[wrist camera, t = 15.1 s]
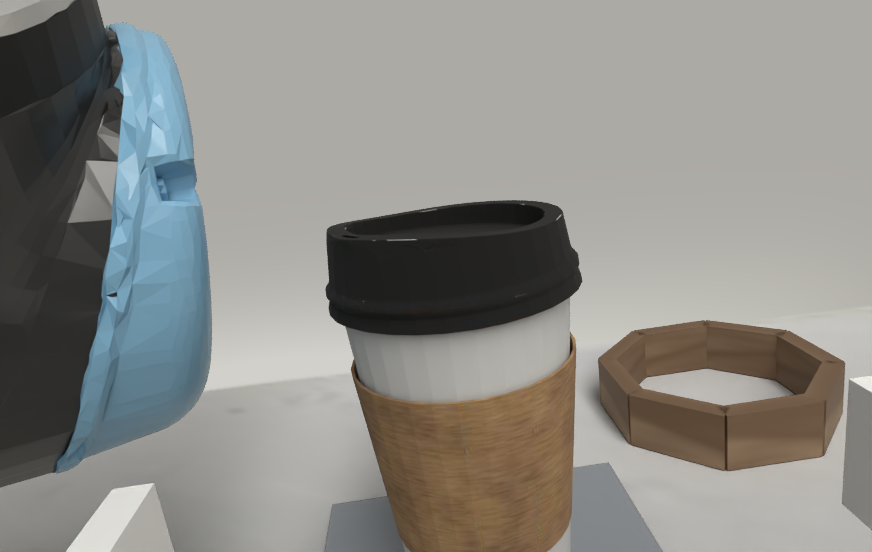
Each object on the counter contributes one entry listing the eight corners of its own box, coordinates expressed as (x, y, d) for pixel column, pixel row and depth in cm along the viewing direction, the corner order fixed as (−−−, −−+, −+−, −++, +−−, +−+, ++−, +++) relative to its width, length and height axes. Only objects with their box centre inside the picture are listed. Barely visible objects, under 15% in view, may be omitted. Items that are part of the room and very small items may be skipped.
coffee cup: (344, 596, 24) (266, 231, 20) (492, 493, 30) (453, 184, 26) (495, 743, 18) (426, 256, 14) (650, 580, 23) (632, 187, 19)
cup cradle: (656, 481, 30) (654, 427, 29) (583, 379, 42) (581, 338, 41) (892, 445, 30) (896, 390, 30) (755, 353, 42) (756, 312, 41)
